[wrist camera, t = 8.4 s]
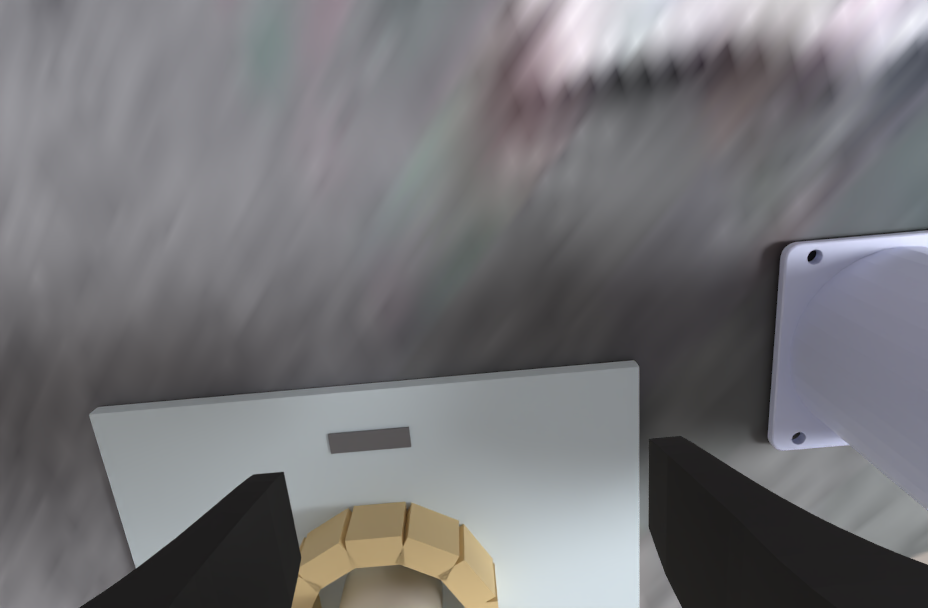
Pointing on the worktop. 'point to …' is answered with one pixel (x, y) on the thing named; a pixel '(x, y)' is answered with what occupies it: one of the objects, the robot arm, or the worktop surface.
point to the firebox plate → (410, 479)
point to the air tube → (391, 588)
